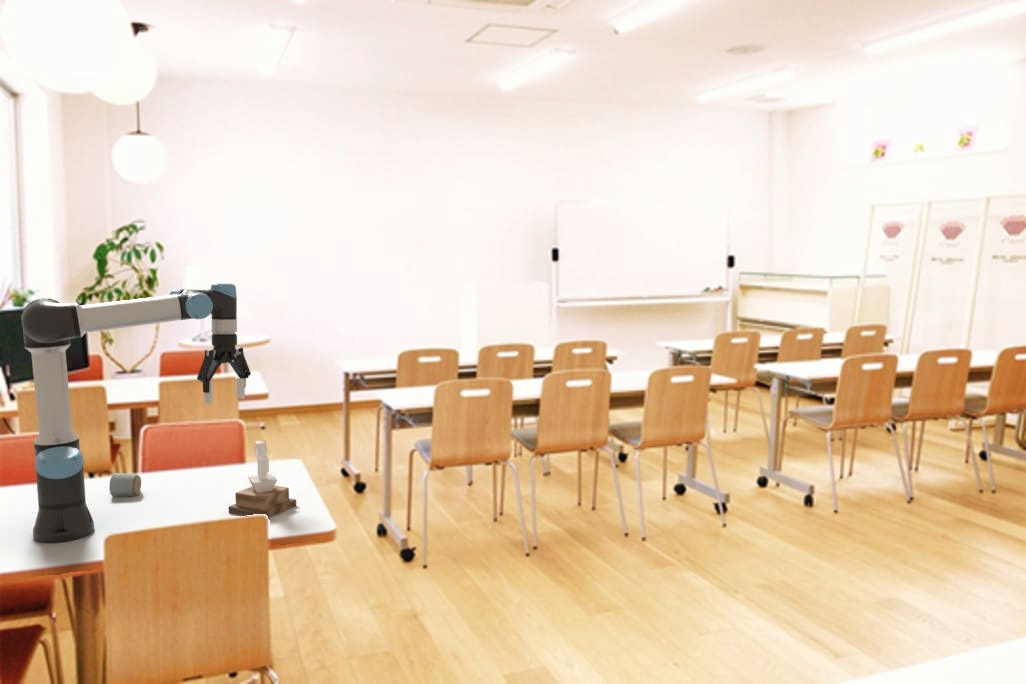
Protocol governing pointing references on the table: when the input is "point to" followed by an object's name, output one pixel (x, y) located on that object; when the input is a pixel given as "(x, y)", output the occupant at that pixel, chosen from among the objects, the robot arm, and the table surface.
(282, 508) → the walnut plinth
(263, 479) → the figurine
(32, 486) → the table surface
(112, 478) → the ceramic mug
